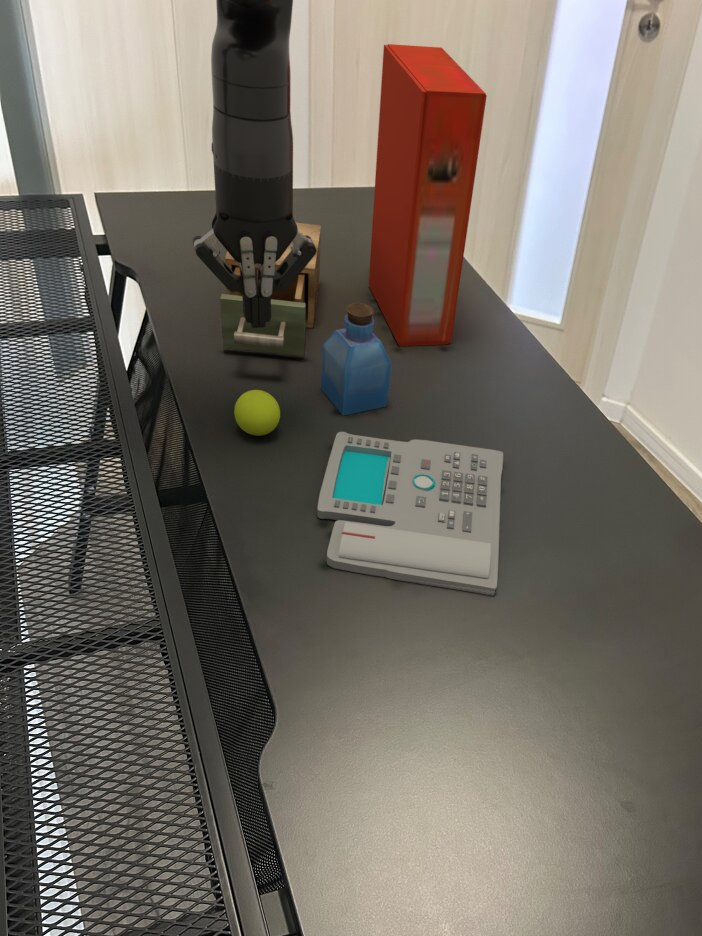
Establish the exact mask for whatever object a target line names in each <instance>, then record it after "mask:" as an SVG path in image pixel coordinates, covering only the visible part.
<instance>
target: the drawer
mask: <svg viewBox="0 0 702 936" xmlns="http://www.w3.org/2000/svg"><path fill="white" fill-rule="evenodd" d="M257 269H258V268H255V283H256V288H257ZM234 273H235V274H236V275H240V268H239V266H237V265H236V268H235V271H234ZM219 300H220V301H219V302H220V318H221V319H220V320H221V336H222V338H221V339H222V348H225V349H234V350H235V349H236V350H243V351H244V350H245V351H254V352H255V351H256V352H262V353H263V352H264V353H274V354H275V353H276V354H283V355H294V356H303V357H304V356H305V353H306V327H305V319H306V273H300V274H299V275H298V277H297V278H296V279H295V280H294V282H293V283H292V284H291V285H290V287H289V288H288V289H287V290H286V291H280V290H278V291H275V292H274V293H273V294H272V295H271V319H270V322H266V326H265V327H260V328H252V326H251V324H250V323H247V321H246V319H245V317H244V314H243V300H242V293H240V292H237V291H236V292H230V291H229V295H228V294H227V293H221V295H220V298H219Z"/></svg>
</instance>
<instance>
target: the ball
mask: <svg viewBox="0 0 702 936" xmlns="http://www.w3.org/2000/svg"><path fill="white" fill-rule="evenodd" d="M233 409H234V410H233V412H234V419H235V422H236V424H237V425H238V426H239V428H240V429H241V430H242V431H243V432H245V433H246V434H249V435H251V436H256V437H261V436H266V435H268V434H270V433H271V432H273V431H274V430H275V429H276V428H277V426H278V425H279V423H280V418H281V409H280V405H279V403H278V401H277V400H276V399H275V397H274V396H273V395H271V394H270V393H269V392H267V391H265V390H262V389H251V390H248V391H245V392H244V393H242V394H241V395H239V398H238V399H237V400H236V402H235V404H234V408H233Z"/></svg>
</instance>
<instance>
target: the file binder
mask: <svg viewBox="0 0 702 936" xmlns="http://www.w3.org/2000/svg"><path fill="white" fill-rule="evenodd" d="M382 51H383V52H382V67H381V68H382V69H381V84H380V98H379V99H380V101H379V116H378V129H377V145H376V146H377V147H376V162H375V179H374V181H375V182H374V192H373V193H374V194H373V209H372V210H373V211H372V223H371V225H372V226H371V241H370V255H369V256H370V257H369V273H368V286H369V288H370V291H371V293H372V295H373V297H374V299H375V300H376V303H377V305H378V306H379V309H380V311H381V313H382V315H383V317H384V319H385V321H386V323H387V325H388V327H389V329H390V331H391V333H392V335H393V337H394V339H395V341H396V344H397V345H398V347H419V346H437V345H438V346H441V345H448V344H451V343H452V340H453V339H452V338H453V332H454V325H455V319H456V311H457V304H458V298H459V290H460V284H461V278H462V277H461V276H462V270H463V264H464V263H463V262H464V255H465V249H466V241H467V236H468V230H469V229H468V228H469V220H470V214H471V207H472V200H473V194H474V186H475V179H476V174H477V173H476V172H477V165H478V159H479V153H480V152H479V151H480V146H481V145H480V144H481V138H482V130H483V125H484V117H485V112H486V111H485V110H486V103H487V97H488V96H487V93H486V92H485V90H483V89H482V88H481V87H480V86H479V84H478V83H476V82H475V80H473V78H472V77H471V76H470V75H469V74H468V73H467V72H466V71H465V70H464V69H463V68H462V67H461V66H460V65H459V64H458V63H457V62H456V61H455V60H454V59H453V58H452V57H451V56H450V54H449V53H448V52H446V50H445V49H444V48H443V47H439V46H425V45H423V46H422V45H409V44H393V43H387V44H383V50H382Z"/></svg>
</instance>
